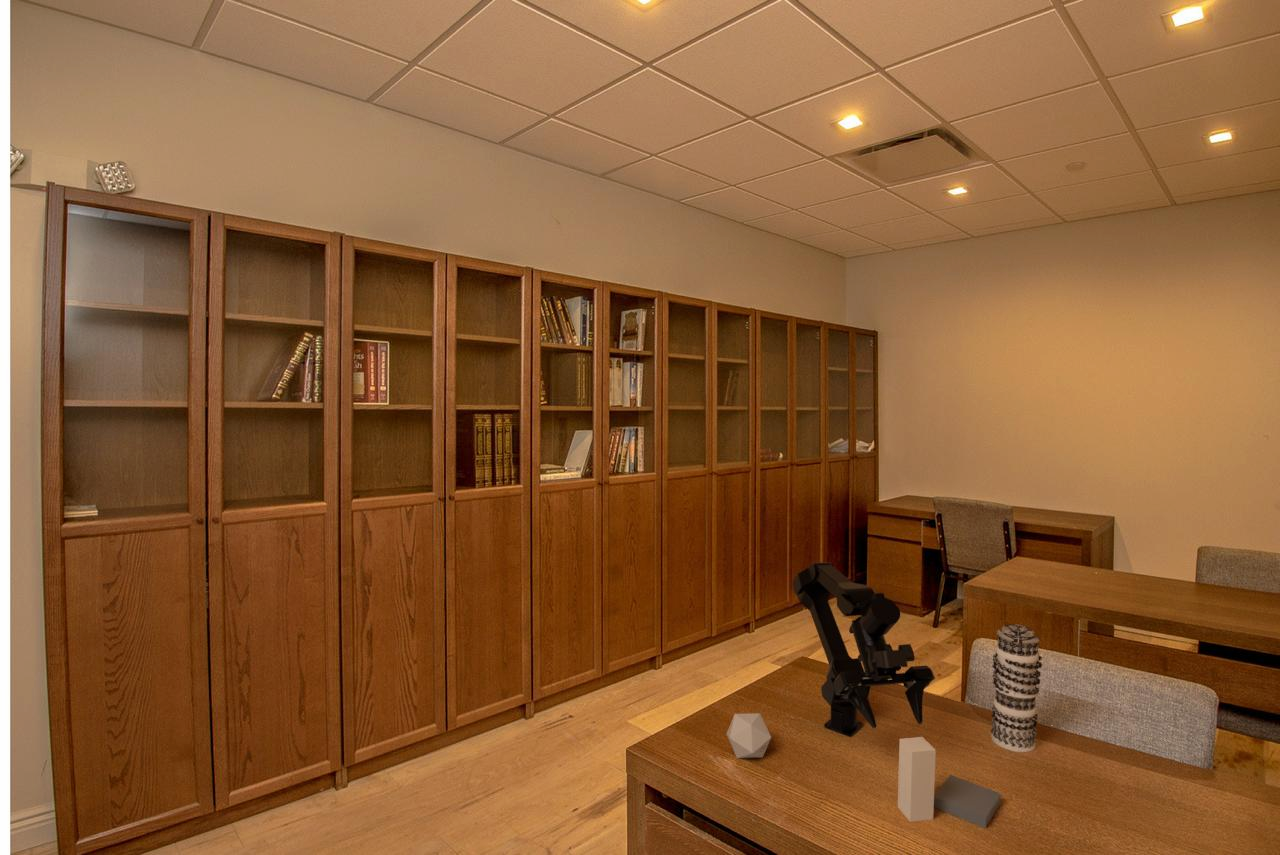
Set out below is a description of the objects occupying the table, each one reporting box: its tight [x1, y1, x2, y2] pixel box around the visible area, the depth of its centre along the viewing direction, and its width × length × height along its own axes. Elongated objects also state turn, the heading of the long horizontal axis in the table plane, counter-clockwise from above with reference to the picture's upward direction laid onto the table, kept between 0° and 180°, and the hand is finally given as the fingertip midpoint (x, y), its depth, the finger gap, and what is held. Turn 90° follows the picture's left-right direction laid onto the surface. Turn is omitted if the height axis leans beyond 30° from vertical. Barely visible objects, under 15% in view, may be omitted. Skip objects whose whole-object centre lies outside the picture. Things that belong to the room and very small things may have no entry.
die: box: [726, 712, 772, 759], centre depth 146 cm, size 8×9×10 cm
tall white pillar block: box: [897, 736, 937, 823], centre depth 127 cm, size 4×4×13 cm
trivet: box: [934, 774, 1002, 829], centre depth 129 cm, size 9×9×2 cm
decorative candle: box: [990, 623, 1043, 753], centre depth 149 cm, size 9×9×25 cm
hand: (897, 725), depth 133 cm, fingers open, 9 cm apart
